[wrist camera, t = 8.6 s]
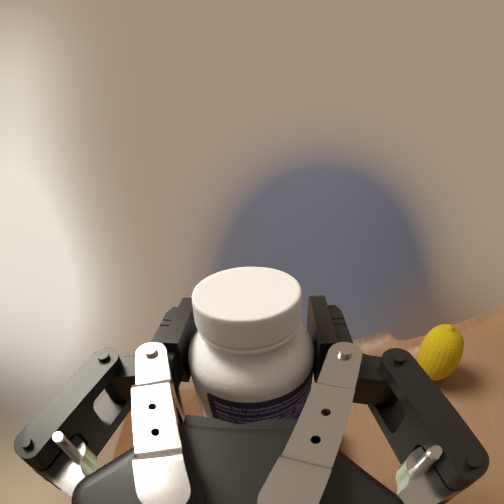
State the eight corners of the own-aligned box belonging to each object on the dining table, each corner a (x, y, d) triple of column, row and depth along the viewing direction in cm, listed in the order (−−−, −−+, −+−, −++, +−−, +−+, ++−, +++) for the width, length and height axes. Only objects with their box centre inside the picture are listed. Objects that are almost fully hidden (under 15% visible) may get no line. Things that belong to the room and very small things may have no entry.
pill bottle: (324, 424, 13) (350, 287, 10) (252, 483, 10) (234, 363, 7) (259, 379, 17) (253, 250, 14) (190, 421, 14) (150, 287, 10)
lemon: (414, 357, 30) (432, 307, 27) (450, 368, 27) (472, 317, 24) (404, 386, 26) (425, 334, 23) (444, 398, 23) (472, 347, 20)
